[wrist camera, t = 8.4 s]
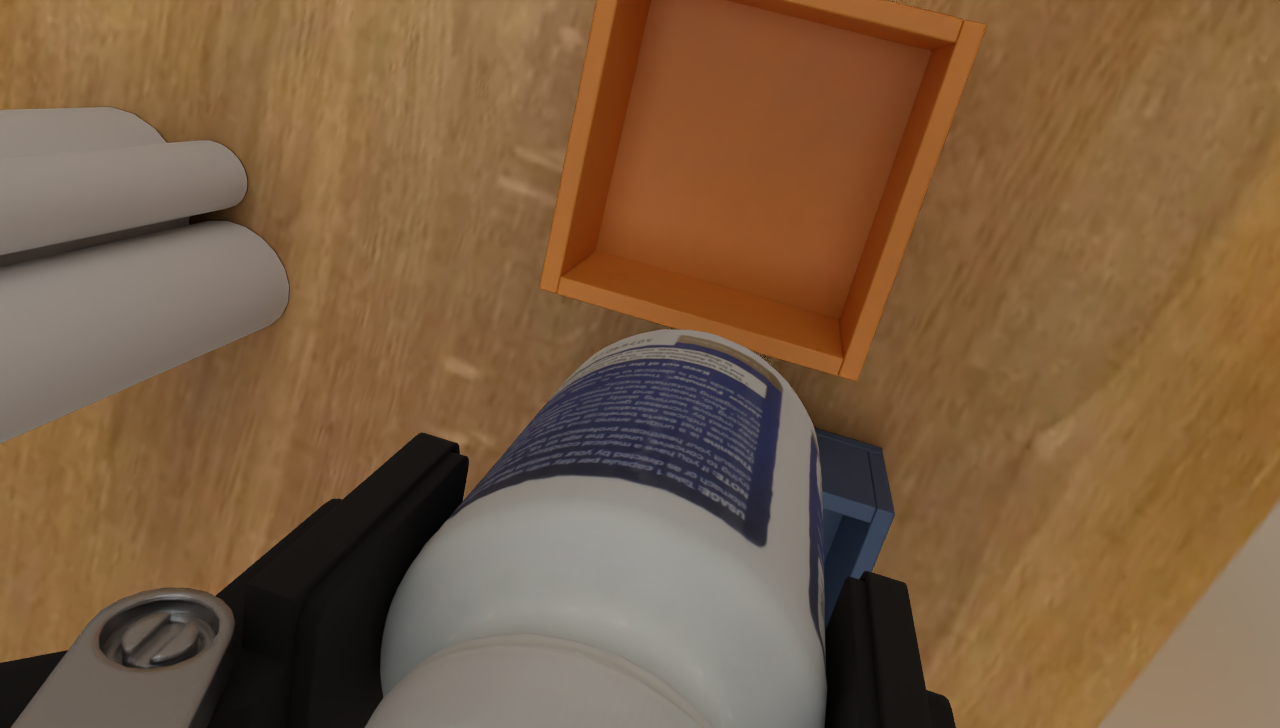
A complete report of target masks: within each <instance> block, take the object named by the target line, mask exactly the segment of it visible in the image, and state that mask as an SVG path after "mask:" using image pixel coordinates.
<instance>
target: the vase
mask: <svg viewBox="0 0 1280 728" xmlns="http://www.w3.org/2000/svg"><path fill="white" fill-rule="evenodd" d="M246 191H247V177H246V173H245V170H244V168H243V166H242V164H241V162H240V160H239V159H238V158H237V157H236V156H235V155H234V154H233V152H232V151H231V150H229V149H228V148H226V147H225V146H223V145H222V144H220V143H217V142H214V141H211V140H198V141H186V142H174V143H166V141H165V140H164V139H163V138H162V137H161V135H160V134H159V133H158V132H157V131H156V130H155V128H153V127H152V126H150V125H149V124H147V123H146V122H144V121H143V120H142V119H140V118H139V117H137V116H136V115H134V114H132V113H129V112H126V111H122V110H119V109H116V108H112V107H90V108H54V109H17V110H0V444H1V443H3V442H6V441H8V440H10V439H12V438H15V437H17V436H19V435H22V434H24V433H26V432H28V431H31V430H33V429H35V428H37V427H40V426H42V425H44V424H47V423H49V422H51V421H53V420H56V419H58V418H60V417H63V416H65V415H67V414H69V413H72V412H74V411H76V410H78V409H81V408H83V407H85V406H88V405H90V404H92V403H94V402H97V401H99V400H101V399H104V398H106V397H108V396H110V395H113V394H115V393H117V392H119V391H122V390H124V389H126V388H129V387H131V386H133V385H135V384H138V383H140V382H142V381H145V380H147V379H149V378H151V377H154V376H156V375H158V374H160V373H163V372H165V371H167V370H170V369H172V368H174V367H176V366H179V365H181V364H183V363H186V362H188V361H190V360H192V359H195V358H197V357H199V356H201V355H204V354H206V353H208V352H211V351H213V350H215V349H217V348H220V347H222V346H224V345H227V344H229V343H231V342H233V341H236V340H238V339H240V338H242V337H245V336H247V335H249V334H252V333H254V332H256V331H258V330H261V329H263V328H265V327H268V326H270V325H271V324H272V323H274V322H275V321H276V320H277V319H279V318H280V317H281V316H282V314H283V312H284V310H285V308H286V306H287V304H288V296H289V284H288V280H287V276H286V272H285V269H284V267H283V265H282V263H281V261H280V260H279V258H278V256H277V254H276V253H275V251H274V250H273V249H272V248H271V247H270V246H269V245H268V244H267V243H266V242H265V241H264V240H263V239H262V238H261V237H260V236H258V235H257V234H255V233H254V232H252V231H251V230H249V229H248V228H246V227H244V226H241V225H238V224H235V223H232V222H229V221H213V220H210V221H206V222H201V223H196V224H192V225H189V216H193V215H198V214H203V213H208V212H213V211H217V210H222V209H227V208H230V207H233V206H236V205H237V204H238V203H239V202H241V201H242V200H243V198H244V196H245V194H246Z"/></svg>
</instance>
